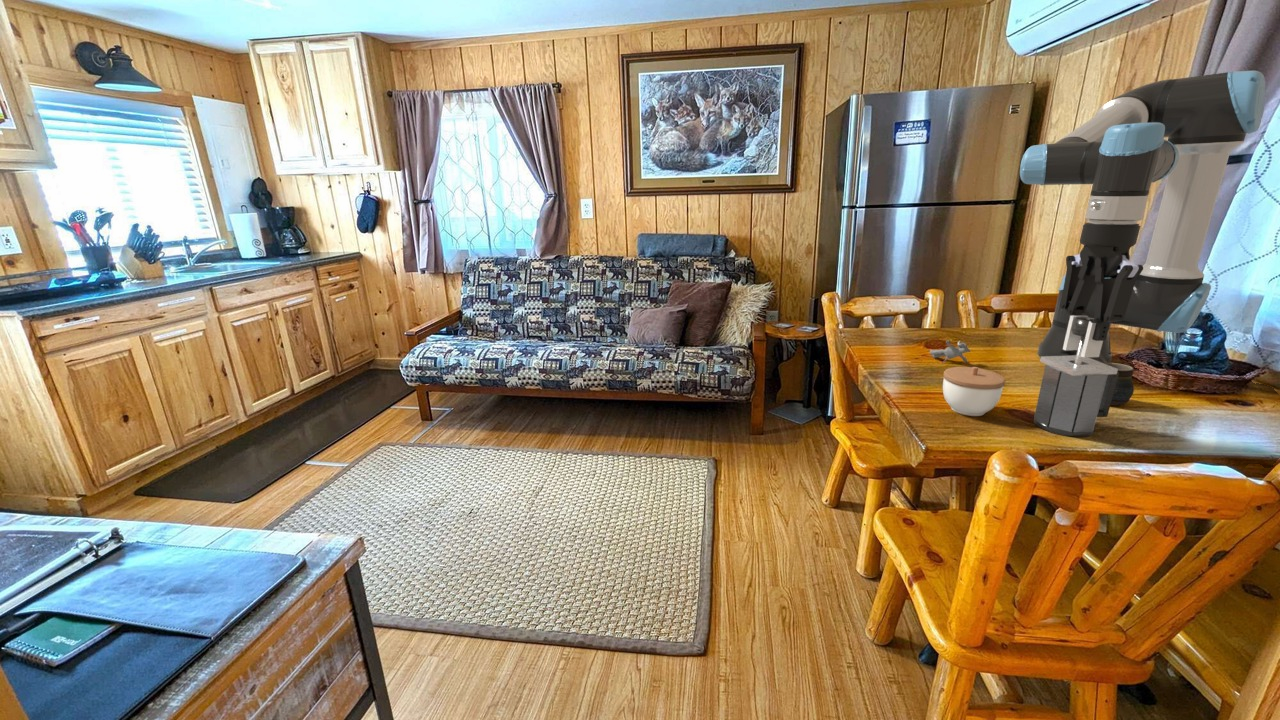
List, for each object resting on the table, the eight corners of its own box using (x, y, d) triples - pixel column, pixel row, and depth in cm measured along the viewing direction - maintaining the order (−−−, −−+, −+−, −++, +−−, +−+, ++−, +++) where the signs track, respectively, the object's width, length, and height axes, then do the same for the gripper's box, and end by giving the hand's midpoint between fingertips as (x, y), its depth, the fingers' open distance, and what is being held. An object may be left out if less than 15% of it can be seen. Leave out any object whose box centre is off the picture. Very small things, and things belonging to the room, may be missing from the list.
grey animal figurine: (944, 354, 148) (978, 350, 140) (939, 373, 146) (974, 370, 138) (923, 335, 144) (958, 330, 136) (918, 354, 142) (953, 350, 134)
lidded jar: (927, 401, 117) (934, 360, 115) (974, 399, 118) (982, 358, 115) (959, 422, 107) (967, 377, 104) (1010, 419, 108) (1020, 375, 105)
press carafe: (1082, 415, 109) (1098, 353, 105) (1122, 435, 100) (1141, 369, 96) (1022, 417, 109) (1035, 355, 105) (1057, 438, 100) (1073, 371, 96)
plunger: (1069, 405, 106) (1091, 315, 101) (1092, 417, 101) (1117, 322, 95) (1040, 406, 106) (1061, 316, 100) (1062, 418, 101) (1085, 323, 95)
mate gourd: (1119, 411, 110) (1131, 364, 107) (1077, 399, 117) (1087, 355, 114) (1137, 404, 114) (1149, 358, 111) (1094, 392, 120) (1105, 349, 117)
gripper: (1053, 219, 100) (1028, 341, 108) (1134, 226, 85) (1097, 368, 92) (1093, 218, 100) (1065, 339, 108) (1181, 225, 85) (1141, 367, 92)
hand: (1080, 352), depth 100 cm, fingers closed on plunger, 4 cm apart
